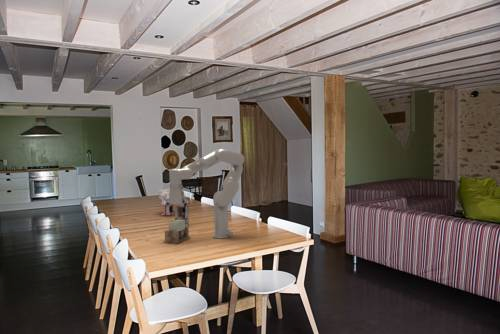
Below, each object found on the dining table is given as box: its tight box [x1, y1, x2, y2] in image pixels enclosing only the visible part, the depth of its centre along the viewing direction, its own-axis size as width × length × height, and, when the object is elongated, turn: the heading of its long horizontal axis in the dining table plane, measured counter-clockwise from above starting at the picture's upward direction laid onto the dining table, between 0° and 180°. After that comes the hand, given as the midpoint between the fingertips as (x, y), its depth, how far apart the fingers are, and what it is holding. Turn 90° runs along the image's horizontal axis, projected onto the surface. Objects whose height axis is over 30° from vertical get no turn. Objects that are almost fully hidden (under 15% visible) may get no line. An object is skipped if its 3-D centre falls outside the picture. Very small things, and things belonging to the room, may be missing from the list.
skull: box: [157, 188, 177, 217], centre depth 333 cm, size 25×19×23 cm
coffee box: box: [174, 205, 190, 228], centre depth 286 cm, size 9×6×16 cm
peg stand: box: [163, 226, 191, 245], centre depth 245 cm, size 11×16×8 cm
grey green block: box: [168, 219, 185, 232], centre depth 245 cm, size 6×10×6 cm, turn 158°
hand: (177, 212), depth 244 cm, fingers open, 9 cm apart
